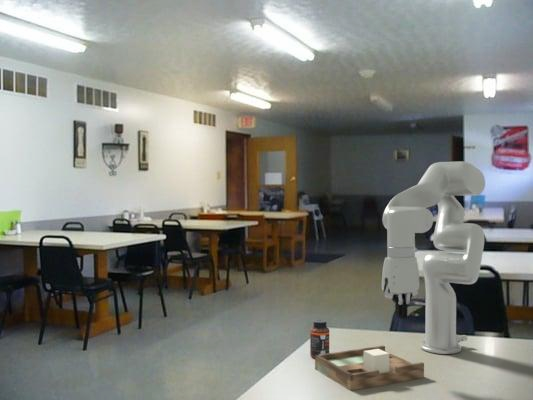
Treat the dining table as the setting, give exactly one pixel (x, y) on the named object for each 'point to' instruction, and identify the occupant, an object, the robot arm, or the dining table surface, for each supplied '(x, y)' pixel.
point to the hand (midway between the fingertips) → (401, 317)
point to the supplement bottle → (319, 338)
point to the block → (376, 360)
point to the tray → (356, 377)
